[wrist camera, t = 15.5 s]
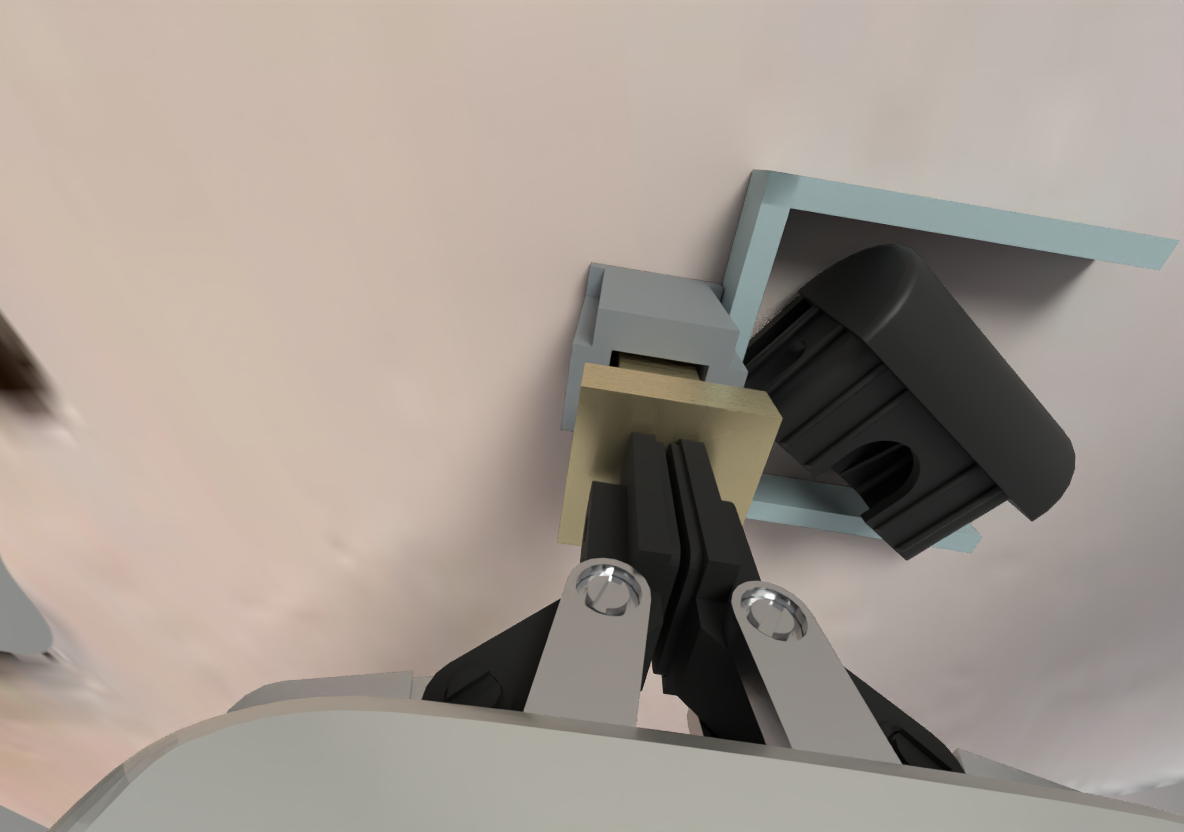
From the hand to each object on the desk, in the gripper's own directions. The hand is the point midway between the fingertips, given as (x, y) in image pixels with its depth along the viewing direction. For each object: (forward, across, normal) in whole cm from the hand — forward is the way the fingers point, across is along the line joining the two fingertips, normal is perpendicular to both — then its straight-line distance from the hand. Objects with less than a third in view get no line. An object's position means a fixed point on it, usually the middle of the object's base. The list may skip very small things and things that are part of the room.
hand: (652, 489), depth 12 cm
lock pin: (+10, 0, 0) cm, 10 cm away
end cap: (+12, -10, 0) cm, 15 cm away
